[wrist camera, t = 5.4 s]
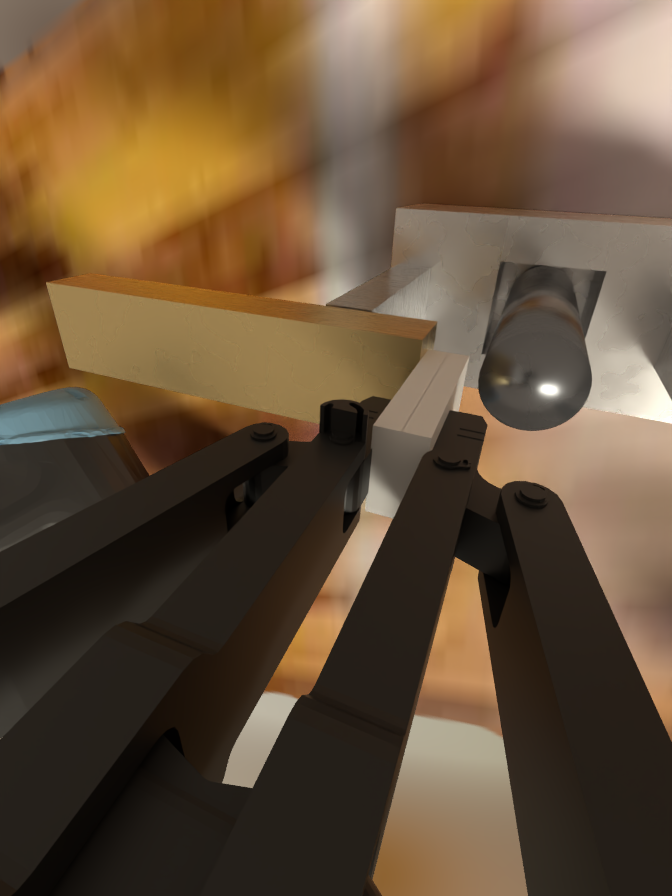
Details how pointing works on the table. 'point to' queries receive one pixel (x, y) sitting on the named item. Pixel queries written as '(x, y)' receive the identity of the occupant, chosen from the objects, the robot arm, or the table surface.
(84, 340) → the rectangular wooden block
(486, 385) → the smooth metal cylinder
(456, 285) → the grey post stand
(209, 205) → the table surface
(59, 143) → the table surface
